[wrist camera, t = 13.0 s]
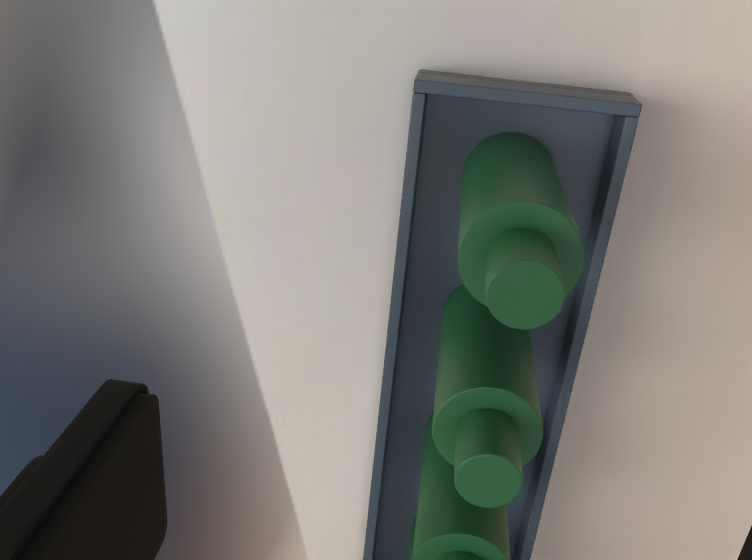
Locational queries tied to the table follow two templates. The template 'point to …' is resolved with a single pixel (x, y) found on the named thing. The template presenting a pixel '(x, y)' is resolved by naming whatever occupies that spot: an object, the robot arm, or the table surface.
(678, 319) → the table surface
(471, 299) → the bottle
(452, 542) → the bottle
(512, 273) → the loose bottle
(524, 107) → the tray
